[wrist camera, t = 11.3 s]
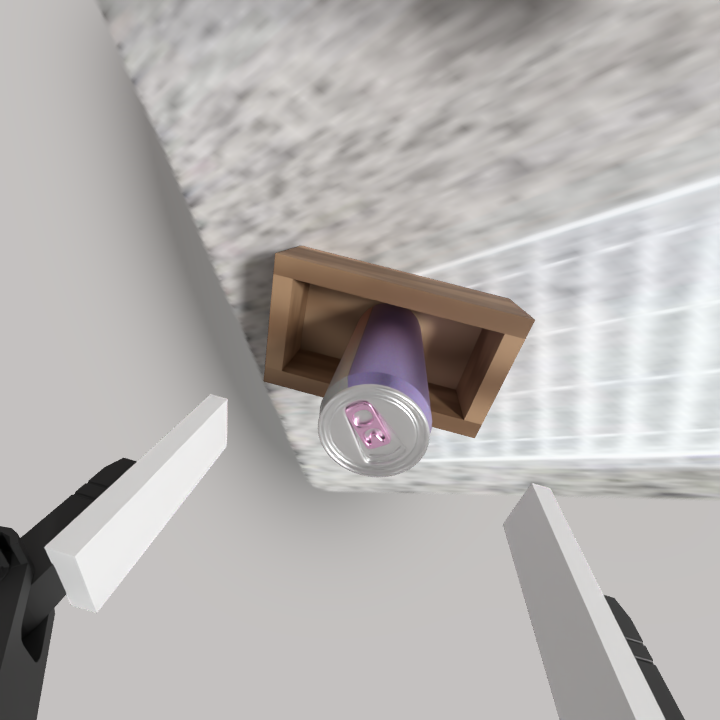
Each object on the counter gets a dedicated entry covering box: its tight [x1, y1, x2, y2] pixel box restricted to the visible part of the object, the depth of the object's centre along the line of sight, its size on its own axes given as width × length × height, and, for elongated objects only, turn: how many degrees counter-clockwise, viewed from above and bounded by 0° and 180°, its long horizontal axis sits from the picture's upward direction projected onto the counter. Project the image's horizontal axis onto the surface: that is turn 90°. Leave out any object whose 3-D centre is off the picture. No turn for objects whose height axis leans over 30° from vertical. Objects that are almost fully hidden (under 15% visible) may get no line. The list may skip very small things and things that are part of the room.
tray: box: [264, 246, 535, 438], centre depth 27 cm, size 11×19×6 cm, turn 77°
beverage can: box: [318, 303, 432, 477], centre depth 22 cm, size 6×6×15 cm
